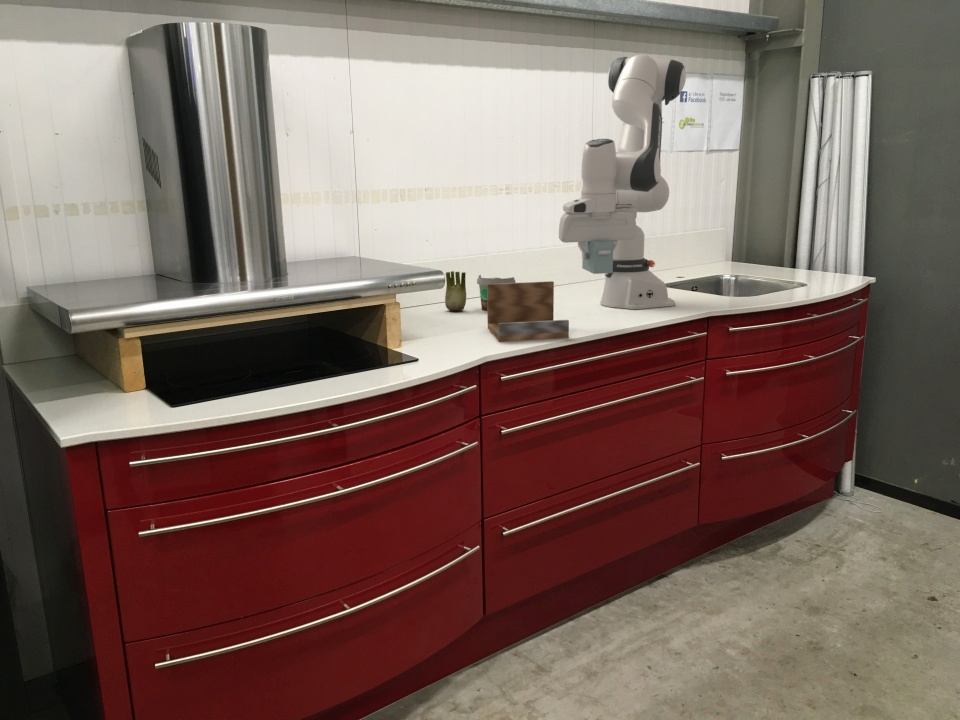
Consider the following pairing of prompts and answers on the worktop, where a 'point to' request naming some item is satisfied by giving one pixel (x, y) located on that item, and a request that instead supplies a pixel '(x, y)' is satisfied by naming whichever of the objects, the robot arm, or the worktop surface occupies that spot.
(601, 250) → the mini cabinet
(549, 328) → the wooden l-shaped stand
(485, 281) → the food container
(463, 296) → the fennel bulb
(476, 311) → the worktop surface
